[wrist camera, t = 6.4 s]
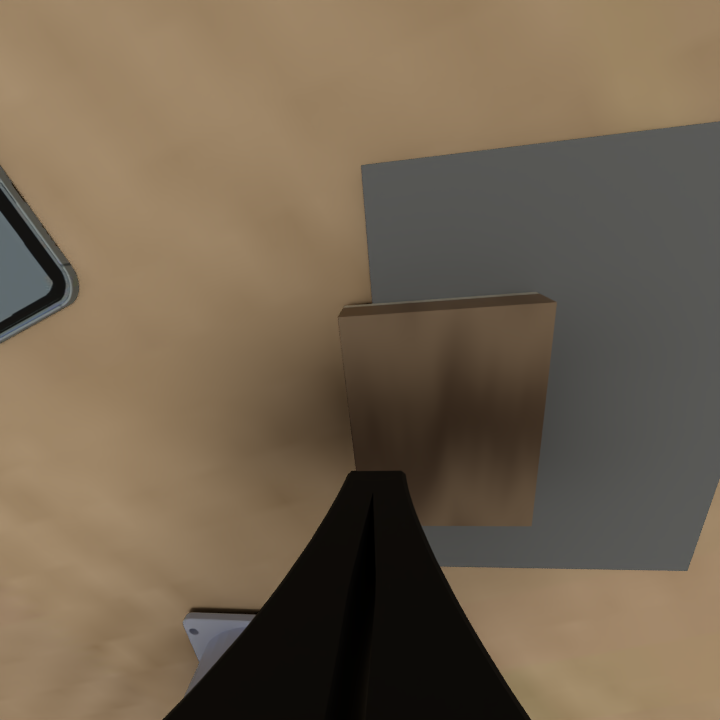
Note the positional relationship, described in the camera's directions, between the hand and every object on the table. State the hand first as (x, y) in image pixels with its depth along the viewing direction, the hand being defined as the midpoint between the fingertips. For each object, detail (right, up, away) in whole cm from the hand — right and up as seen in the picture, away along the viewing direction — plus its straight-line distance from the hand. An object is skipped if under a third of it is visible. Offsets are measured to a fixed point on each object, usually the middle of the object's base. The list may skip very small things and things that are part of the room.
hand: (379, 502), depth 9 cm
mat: (+6, +2, +4) cm, 8 cm away
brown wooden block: (-1, +1, +4) cm, 4 cm away
